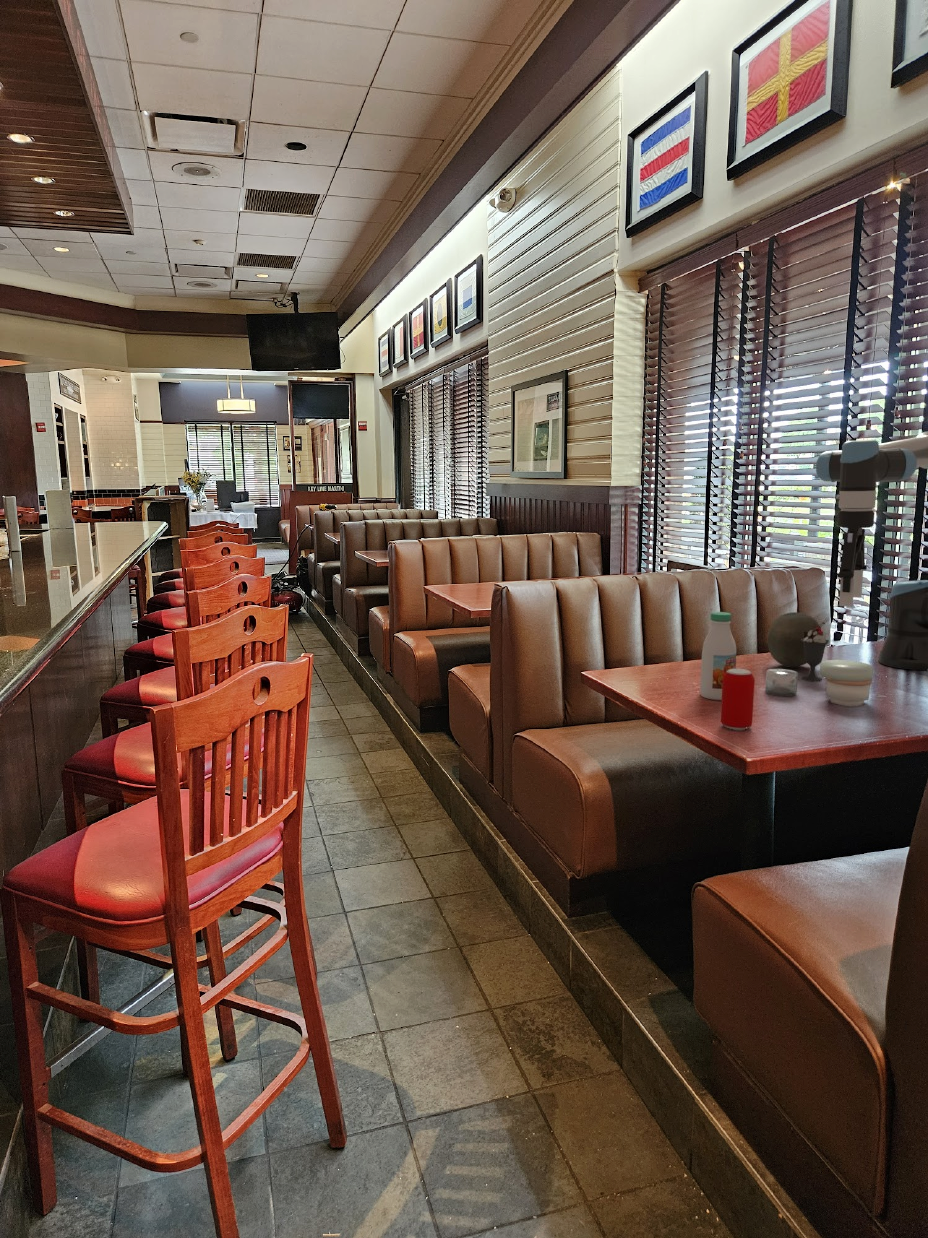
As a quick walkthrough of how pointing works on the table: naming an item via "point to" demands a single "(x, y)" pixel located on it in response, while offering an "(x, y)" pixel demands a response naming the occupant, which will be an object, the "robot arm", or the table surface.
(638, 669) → the table surface
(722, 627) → the milk bottle
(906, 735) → the table surface
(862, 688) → the bowl
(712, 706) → the table surface
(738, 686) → the beverage can
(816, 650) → the sundae
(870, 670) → the lid
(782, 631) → the cantaloupe
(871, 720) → the table surface
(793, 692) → the lid stand
